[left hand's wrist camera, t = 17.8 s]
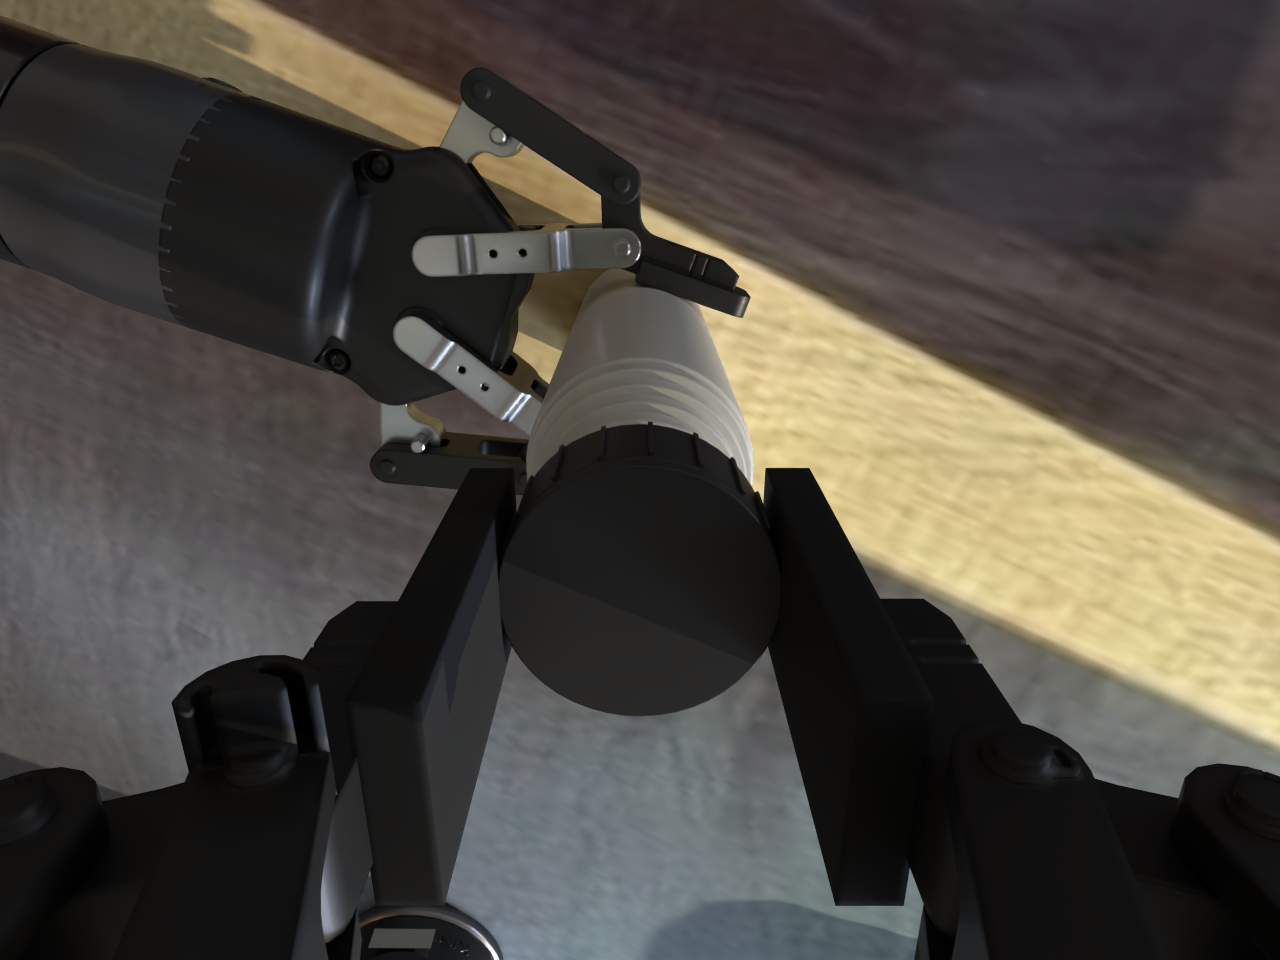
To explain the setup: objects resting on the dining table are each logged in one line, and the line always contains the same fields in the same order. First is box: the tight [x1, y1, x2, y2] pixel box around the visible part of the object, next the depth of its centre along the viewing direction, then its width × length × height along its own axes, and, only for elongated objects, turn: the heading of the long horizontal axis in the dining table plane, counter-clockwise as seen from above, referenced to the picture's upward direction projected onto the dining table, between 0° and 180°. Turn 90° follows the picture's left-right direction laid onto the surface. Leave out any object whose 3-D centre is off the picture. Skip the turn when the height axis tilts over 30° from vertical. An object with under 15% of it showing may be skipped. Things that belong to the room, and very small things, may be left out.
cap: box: [498, 422, 781, 716], centre depth 14 cm, size 4×4×2 cm
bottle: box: [526, 268, 754, 486], centre depth 23 cm, size 5×5×22 cm
